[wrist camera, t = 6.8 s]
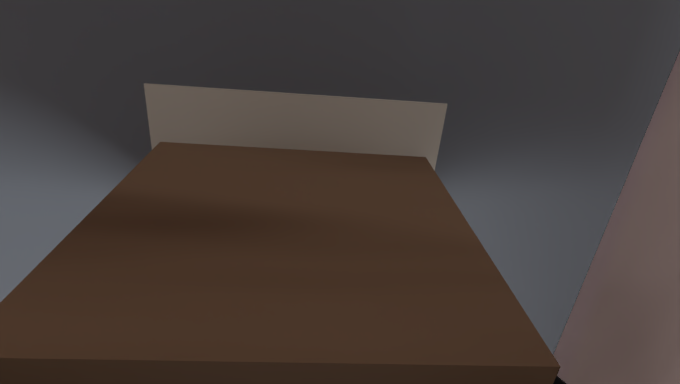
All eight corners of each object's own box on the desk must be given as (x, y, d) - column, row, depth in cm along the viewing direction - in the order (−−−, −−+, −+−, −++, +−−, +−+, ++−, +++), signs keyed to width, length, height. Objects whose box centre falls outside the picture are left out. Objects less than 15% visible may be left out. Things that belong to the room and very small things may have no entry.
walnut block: (391, 346, 10) (449, 623, 6) (182, 342, 10) (72, 636, 5) (425, 156, 8) (561, 367, 4) (160, 142, 8) (-56, 357, 3)
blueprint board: (519, 378, 15) (533, 405, 14) (38, 372, 13) (17, 401, 12) (680, -46, 9) (722, -49, 8) (-128, -128, 8) (-189, -143, 7)
